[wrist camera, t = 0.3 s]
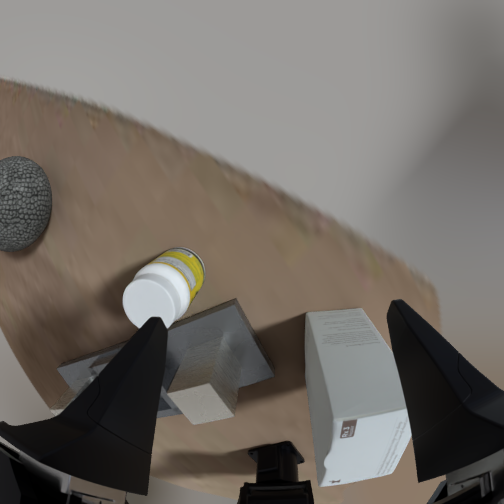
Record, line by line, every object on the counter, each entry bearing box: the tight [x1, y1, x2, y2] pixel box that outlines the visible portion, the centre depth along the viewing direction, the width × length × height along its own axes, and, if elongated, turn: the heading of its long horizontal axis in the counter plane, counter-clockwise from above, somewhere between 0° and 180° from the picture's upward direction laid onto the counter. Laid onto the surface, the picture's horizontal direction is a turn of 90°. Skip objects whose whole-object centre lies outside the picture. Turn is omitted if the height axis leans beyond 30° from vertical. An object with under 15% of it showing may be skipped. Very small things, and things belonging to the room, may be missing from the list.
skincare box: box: [305, 308, 412, 487], centre depth 19 cm, size 8×6×15 cm
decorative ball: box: [0, 156, 52, 252], centre depth 19 cm, size 10×10×10 cm
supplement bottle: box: [123, 247, 205, 328], centre depth 21 cm, size 5×5×8 cm
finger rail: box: [50, 299, 275, 425], centre depth 24 cm, size 9×29×8 cm, turn 116°
